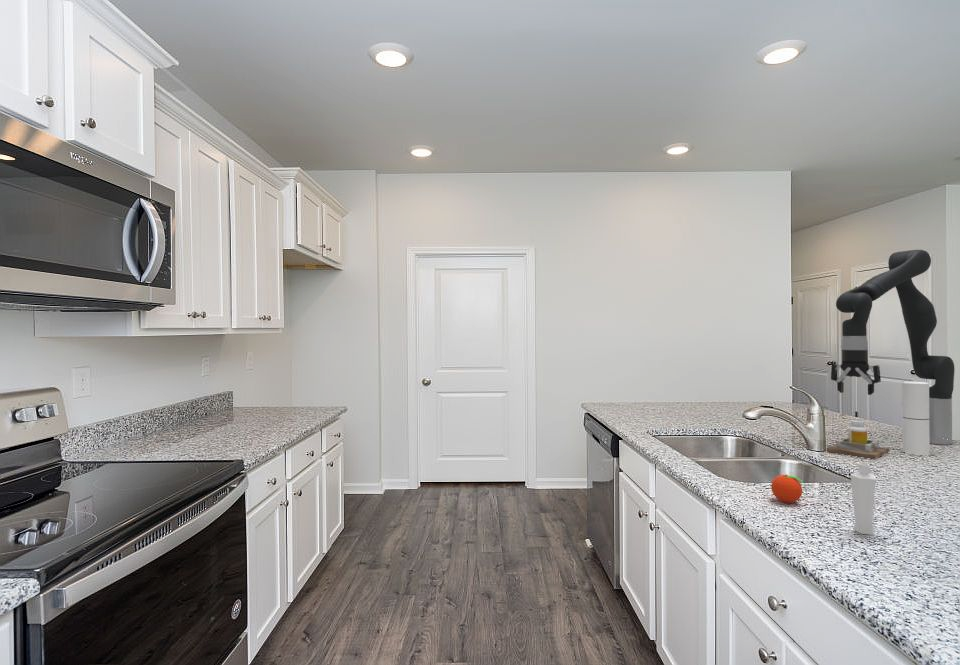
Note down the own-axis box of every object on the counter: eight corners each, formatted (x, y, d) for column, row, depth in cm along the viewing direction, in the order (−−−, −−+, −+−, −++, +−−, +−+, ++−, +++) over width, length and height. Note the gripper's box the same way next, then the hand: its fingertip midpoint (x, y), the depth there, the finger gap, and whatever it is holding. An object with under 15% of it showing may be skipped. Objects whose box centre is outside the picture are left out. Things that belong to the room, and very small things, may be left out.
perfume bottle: (851, 525, 114) (851, 460, 114) (876, 530, 112) (875, 463, 111) (850, 531, 111) (849, 464, 111) (875, 536, 108) (875, 467, 108)
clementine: (807, 501, 130) (807, 474, 130) (807, 509, 125) (806, 480, 125) (772, 495, 135) (772, 469, 135) (770, 503, 129) (769, 475, 129)
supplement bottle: (871, 449, 176) (871, 422, 176) (855, 450, 176) (855, 422, 176) (860, 446, 181) (859, 419, 181) (844, 446, 181) (844, 419, 181)
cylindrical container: (898, 452, 178) (897, 382, 177) (909, 450, 181) (908, 381, 180) (922, 457, 171) (922, 384, 171) (933, 454, 174) (933, 382, 174)
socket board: (842, 445, 189) (842, 435, 189) (888, 452, 177) (888, 441, 177) (826, 452, 180) (826, 440, 180) (874, 459, 169) (874, 448, 169)
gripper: (882, 348, 176) (883, 394, 177) (835, 347, 188) (836, 390, 188) (875, 349, 172) (876, 396, 172) (827, 348, 183) (828, 392, 184)
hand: (855, 393), depth 180 cm, fingers open, 8 cm apart
